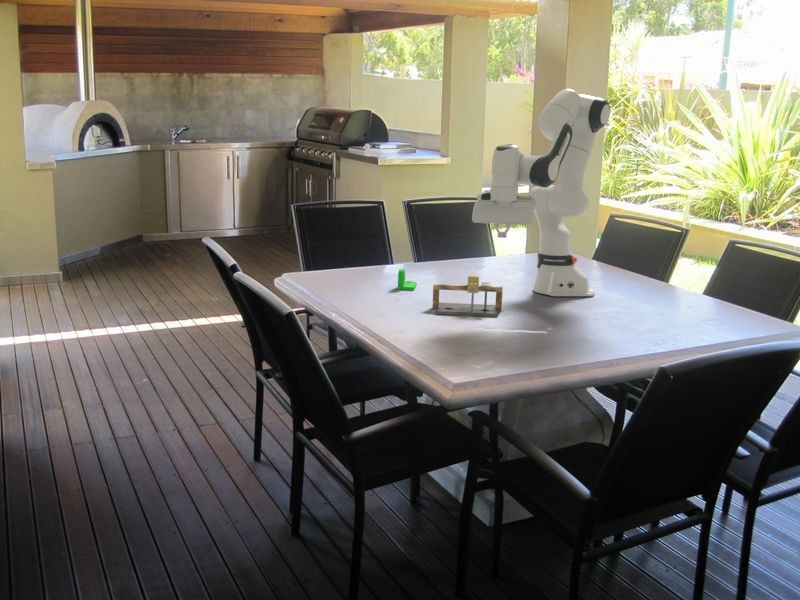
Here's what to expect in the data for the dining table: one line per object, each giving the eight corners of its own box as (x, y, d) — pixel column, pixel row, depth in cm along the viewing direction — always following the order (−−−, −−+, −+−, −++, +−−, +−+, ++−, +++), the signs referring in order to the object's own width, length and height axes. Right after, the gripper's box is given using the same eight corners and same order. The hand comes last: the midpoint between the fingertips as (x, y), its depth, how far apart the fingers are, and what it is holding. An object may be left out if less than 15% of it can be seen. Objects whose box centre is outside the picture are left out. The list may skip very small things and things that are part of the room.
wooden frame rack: (501, 310, 284) (502, 282, 282) (501, 314, 277) (503, 286, 275) (432, 307, 286) (433, 280, 284) (431, 311, 279) (432, 283, 277)
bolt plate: (496, 308, 286) (496, 304, 286) (497, 317, 274) (497, 313, 273) (437, 305, 288) (437, 302, 288) (435, 314, 275) (435, 310, 275)
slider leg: (477, 304, 285) (478, 275, 283) (477, 309, 278) (478, 279, 276) (466, 303, 285) (468, 274, 283) (466, 308, 278) (467, 278, 276)
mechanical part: (413, 292, 310) (414, 271, 308) (397, 291, 310) (398, 270, 309) (417, 286, 321) (417, 265, 320) (401, 285, 322) (402, 265, 320)
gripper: (535, 195, 277) (533, 237, 280) (473, 193, 278) (471, 235, 281) (536, 197, 271) (534, 239, 274) (473, 194, 272) (471, 237, 275)
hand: (501, 237), depth 277 cm, fingers closed
